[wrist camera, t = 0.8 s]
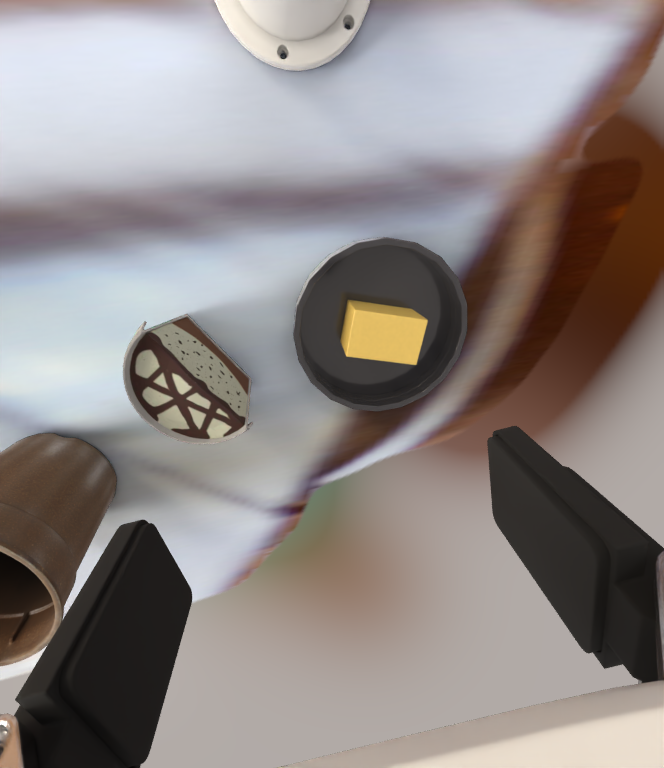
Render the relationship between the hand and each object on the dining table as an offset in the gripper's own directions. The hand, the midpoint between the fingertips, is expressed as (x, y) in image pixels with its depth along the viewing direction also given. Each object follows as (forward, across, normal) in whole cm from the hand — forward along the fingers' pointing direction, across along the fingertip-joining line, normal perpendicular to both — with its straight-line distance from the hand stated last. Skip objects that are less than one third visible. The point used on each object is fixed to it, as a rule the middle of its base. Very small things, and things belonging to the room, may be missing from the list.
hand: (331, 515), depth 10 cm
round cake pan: (+30, -7, +4) cm, 31 cm away
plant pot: (+31, +32, +12) cm, 46 cm away
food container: (+30, +12, +3) cm, 33 cm away
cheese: (+30, -7, +4) cm, 31 cm away
